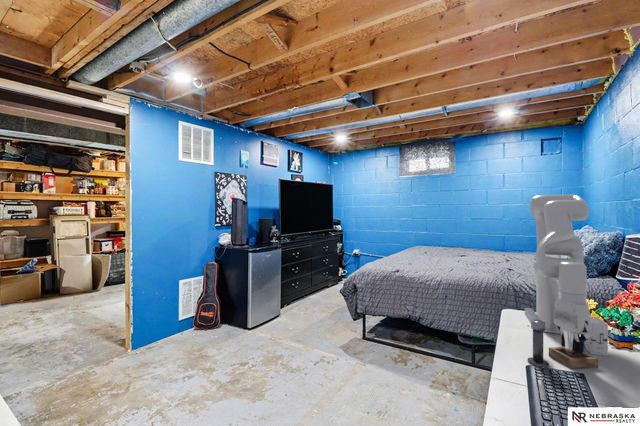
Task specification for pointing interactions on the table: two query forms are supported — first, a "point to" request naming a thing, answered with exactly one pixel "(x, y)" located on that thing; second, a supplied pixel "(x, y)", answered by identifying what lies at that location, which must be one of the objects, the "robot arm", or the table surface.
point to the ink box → (598, 337)
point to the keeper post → (538, 350)
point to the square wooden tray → (573, 358)
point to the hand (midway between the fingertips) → (572, 348)
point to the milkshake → (569, 342)
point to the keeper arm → (534, 320)
